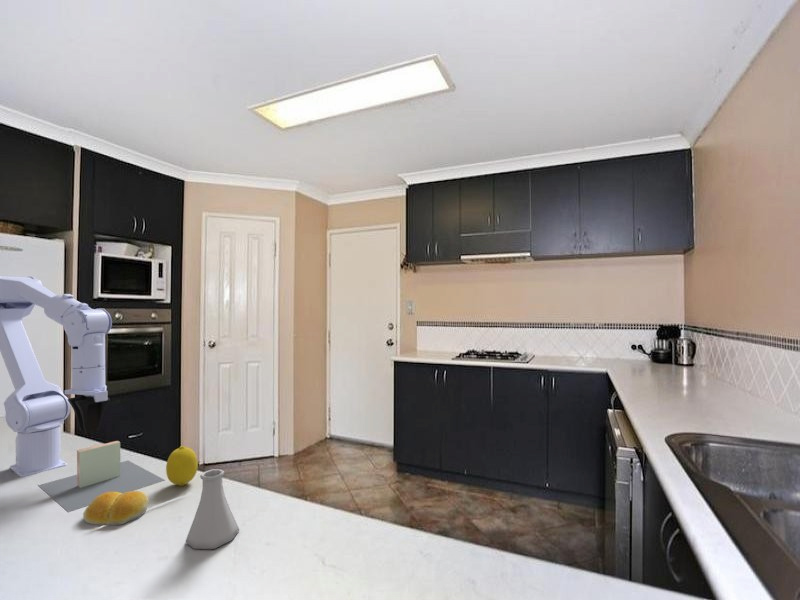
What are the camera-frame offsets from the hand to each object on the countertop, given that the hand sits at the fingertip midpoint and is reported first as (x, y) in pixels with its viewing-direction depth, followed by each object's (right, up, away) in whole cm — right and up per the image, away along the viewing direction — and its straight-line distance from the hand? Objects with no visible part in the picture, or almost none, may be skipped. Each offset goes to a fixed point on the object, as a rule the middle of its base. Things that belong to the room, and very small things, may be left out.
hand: (89, 431), depth 89 cm
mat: (+6, -9, -4) cm, 12 cm away
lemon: (+22, -10, -5) cm, 25 cm away
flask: (+36, -9, -23) cm, 44 cm away
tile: (+4, -9, -3) cm, 11 cm away
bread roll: (+17, -10, -16) cm, 25 cm away
